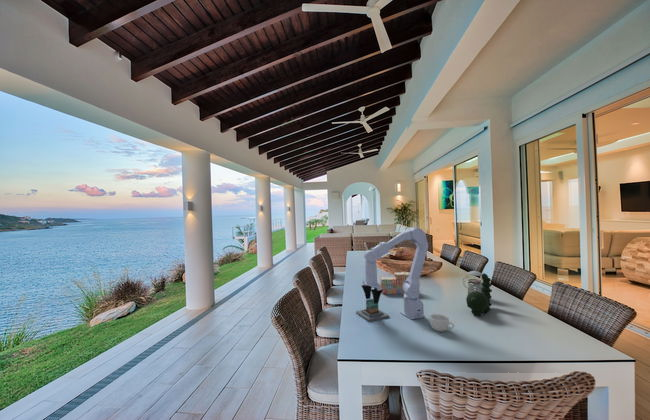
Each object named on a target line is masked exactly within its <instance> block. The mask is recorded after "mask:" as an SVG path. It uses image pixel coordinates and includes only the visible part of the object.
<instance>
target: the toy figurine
mask: <svg viewBox="0 0 650 420" xmlns="http://www.w3.org/2000/svg"><path fill="white" fill-rule="evenodd" d="M481 279H482V280H481V281H482V282H481V283H482V288H481V291H482V292H478V291H474V292H471V293H469V294H468V293H467V294H468V296H466V299H465V301H466V306H467V308H469V309H471V310H470V311H471V314H472V315H474V316H479V317H480V316H481V315H482V312H484V313H489V311H491V307H492V305H493V304H492V303H491V299H492V295H491V293H492V292H493V289H491V288H490V287H492V283H491V280H492V279H491V278H489V276H488V274H487V273H482V276H481Z"/></svg>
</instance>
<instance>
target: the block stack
mask: <svg viewBox="0 0 650 420" xmlns="http://www.w3.org/2000/svg"><path fill="white" fill-rule="evenodd" d="M365 309H366V312H367V313H369V314H370V315H371V314H375V313H378V309H379V302H378V303H377V304H374V300H373V298H370V299H366V300H365Z"/></svg>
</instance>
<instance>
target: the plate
mask: <svg viewBox="0 0 650 420" xmlns="http://www.w3.org/2000/svg"><path fill="white" fill-rule="evenodd" d="M355 313H356V315H358V316H359V317H361V318H362V319H364V320H365V321H366V322H373V321H379V320H383V319H387V318H390V314H388V313H386V312H384V311H383V310H381V309H379V308H378V313H375V314H371V315H370V314H369V313H367V312H366V308H365V309H361V310H356V312H355Z"/></svg>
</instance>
